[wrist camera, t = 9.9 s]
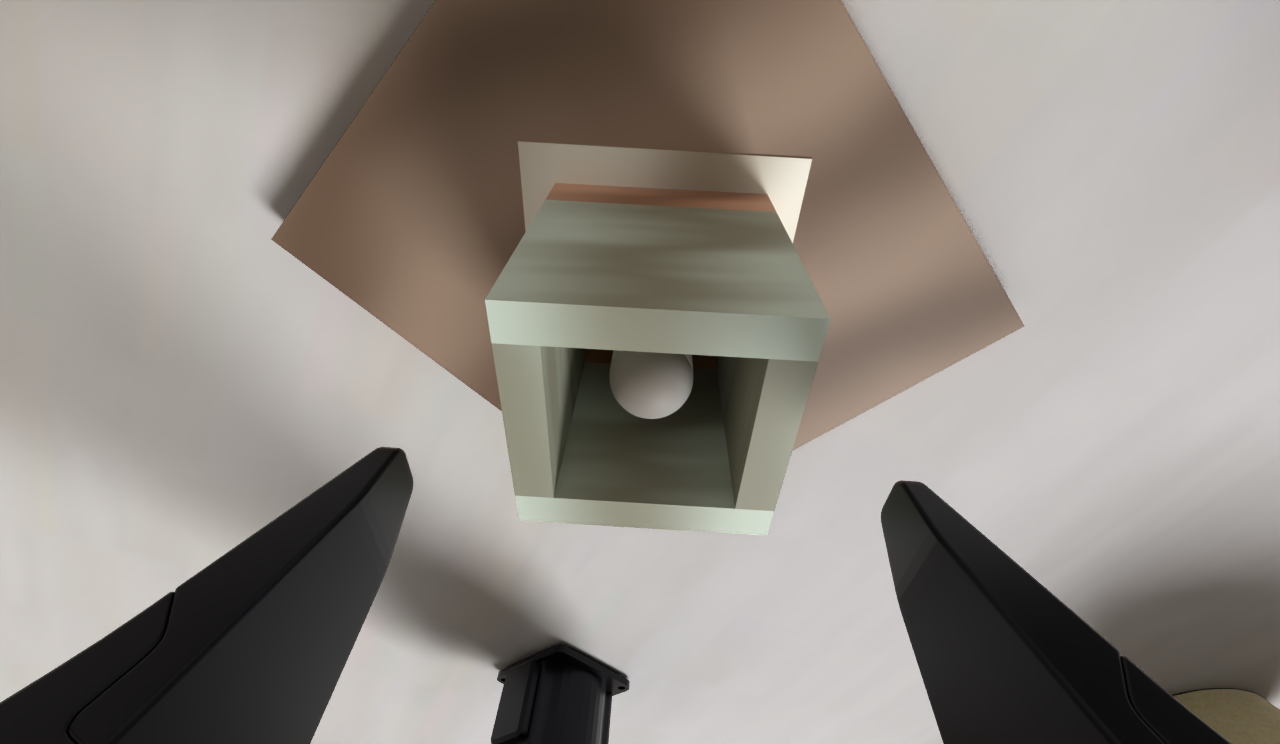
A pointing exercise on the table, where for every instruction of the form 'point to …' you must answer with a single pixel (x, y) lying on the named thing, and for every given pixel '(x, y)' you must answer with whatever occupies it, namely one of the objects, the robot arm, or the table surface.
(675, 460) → the sleeve
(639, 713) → the table surface
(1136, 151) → the table surface
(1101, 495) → the table surface
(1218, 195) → the table surface
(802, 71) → the pin board
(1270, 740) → the plant pot
